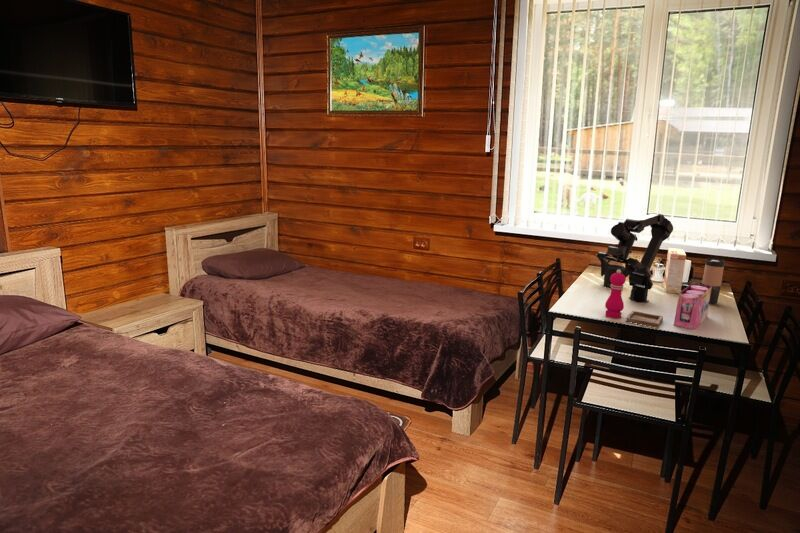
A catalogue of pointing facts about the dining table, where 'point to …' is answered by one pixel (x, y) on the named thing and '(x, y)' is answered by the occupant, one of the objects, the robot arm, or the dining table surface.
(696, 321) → the gum box
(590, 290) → the dining table surface
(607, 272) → the pen holder
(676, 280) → the coffeecake box
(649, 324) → the walnut tray
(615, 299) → the pepper mill
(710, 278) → the travel mug
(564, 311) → the dining table surface
